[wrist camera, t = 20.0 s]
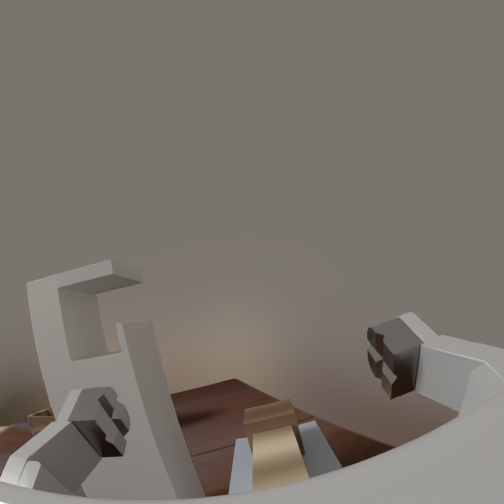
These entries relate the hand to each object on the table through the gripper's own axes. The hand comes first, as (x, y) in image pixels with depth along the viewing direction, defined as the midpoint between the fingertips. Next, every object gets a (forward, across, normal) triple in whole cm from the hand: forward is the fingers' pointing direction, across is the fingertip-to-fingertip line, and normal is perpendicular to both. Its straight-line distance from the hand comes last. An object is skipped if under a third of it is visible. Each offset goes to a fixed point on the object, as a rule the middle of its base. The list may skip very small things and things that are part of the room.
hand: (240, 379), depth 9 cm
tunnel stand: (+9, +18, +34) cm, 40 cm away
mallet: (+3, 0, +14) cm, 14 cm away
